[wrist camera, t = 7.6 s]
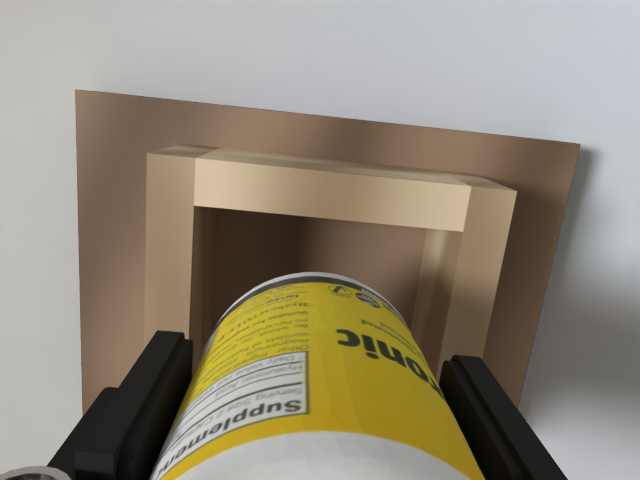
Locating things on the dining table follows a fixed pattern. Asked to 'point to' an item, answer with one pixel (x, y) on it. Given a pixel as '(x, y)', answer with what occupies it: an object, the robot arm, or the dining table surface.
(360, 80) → the dining table surface
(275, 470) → the supplement bottle
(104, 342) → the socket board
